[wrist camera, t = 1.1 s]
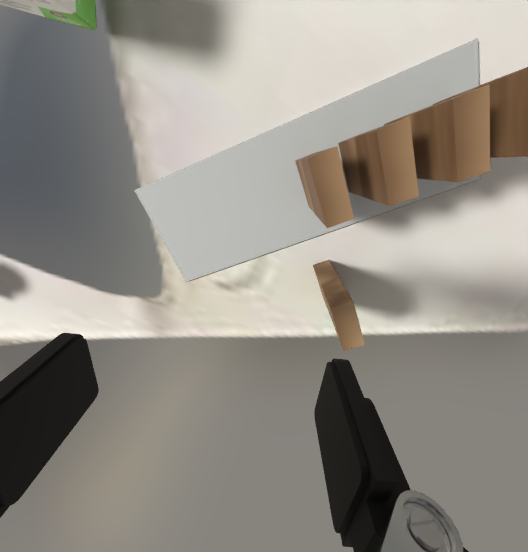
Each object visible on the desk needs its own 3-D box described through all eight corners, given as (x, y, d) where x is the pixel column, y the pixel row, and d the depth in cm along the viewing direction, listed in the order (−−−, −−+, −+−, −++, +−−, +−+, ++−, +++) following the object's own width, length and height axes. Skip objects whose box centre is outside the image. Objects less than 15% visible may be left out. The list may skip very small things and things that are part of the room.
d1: (455, 94, 23) (579, 47, 13) (458, 151, 24) (568, 143, 15) (432, 104, 23) (537, 64, 14) (437, 159, 25) (532, 156, 16)
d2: (405, 115, 23) (489, 83, 14) (411, 168, 25) (489, 171, 16) (383, 124, 24) (453, 98, 15) (391, 176, 26) (457, 182, 16)
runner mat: (475, 39, 21) (478, 38, 21) (478, 178, 26) (481, 179, 25) (135, 190, 27) (134, 190, 27) (186, 280, 32) (185, 281, 32)
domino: (328, 259, 30) (353, 301, 21) (338, 293, 32) (364, 345, 23) (313, 265, 30) (330, 308, 21) (323, 298, 32) (343, 350, 23)
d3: (358, 134, 24) (409, 116, 15) (367, 185, 26) (418, 196, 17) (338, 143, 24) (376, 129, 15) (349, 192, 26) (389, 206, 17)
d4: (313, 153, 25) (337, 146, 16) (326, 200, 27) (354, 218, 18) (295, 160, 25) (307, 158, 16) (308, 207, 27) (327, 228, 18)
